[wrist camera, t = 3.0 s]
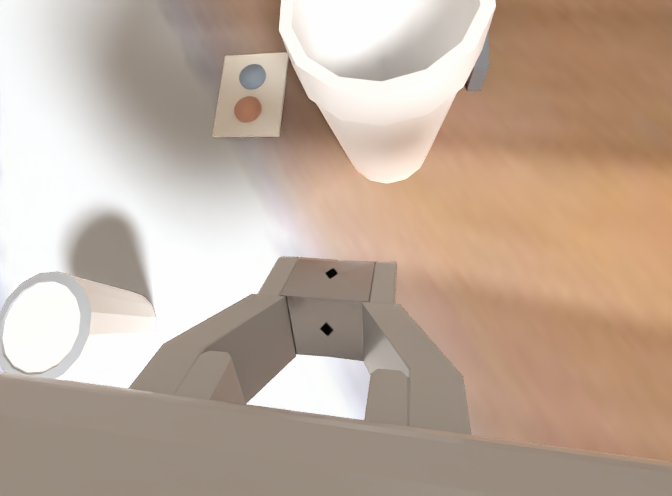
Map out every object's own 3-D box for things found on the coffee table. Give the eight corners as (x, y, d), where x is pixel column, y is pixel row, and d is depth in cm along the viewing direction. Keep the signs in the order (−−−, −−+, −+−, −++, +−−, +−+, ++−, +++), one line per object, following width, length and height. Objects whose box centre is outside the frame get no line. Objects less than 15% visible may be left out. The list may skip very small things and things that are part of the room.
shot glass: (108, 390, 27) (14, 411, 21) (73, 318, 29) (-24, 316, 22) (178, 335, 27) (108, 338, 21) (139, 267, 29) (62, 249, 22)
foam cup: (376, 226, 27) (360, 136, 14) (307, 142, 29) (241, 4, 17) (475, 149, 27) (546, -8, 14) (397, 72, 29) (399, -118, 17)
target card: (279, 136, 30) (277, 133, 29) (213, 137, 31) (210, 134, 30) (289, 54, 31) (287, 50, 31) (226, 58, 32) (224, 54, 32)
